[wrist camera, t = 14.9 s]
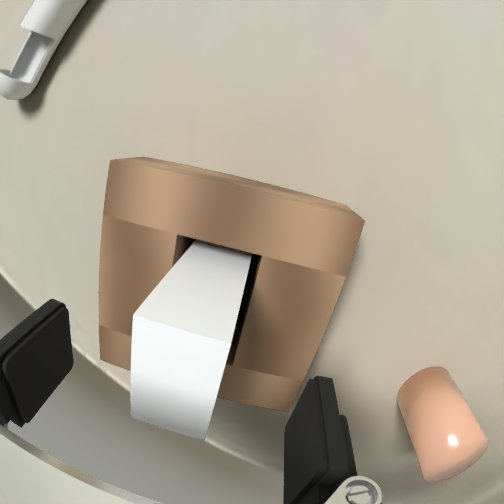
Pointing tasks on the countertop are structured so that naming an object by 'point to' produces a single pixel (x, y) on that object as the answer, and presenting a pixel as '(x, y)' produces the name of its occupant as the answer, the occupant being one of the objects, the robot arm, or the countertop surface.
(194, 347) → the flat bar peg
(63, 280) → the countertop surface
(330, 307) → the slot block
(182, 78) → the countertop surface
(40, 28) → the white long slotted part
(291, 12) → the countertop surface
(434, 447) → the round peg
